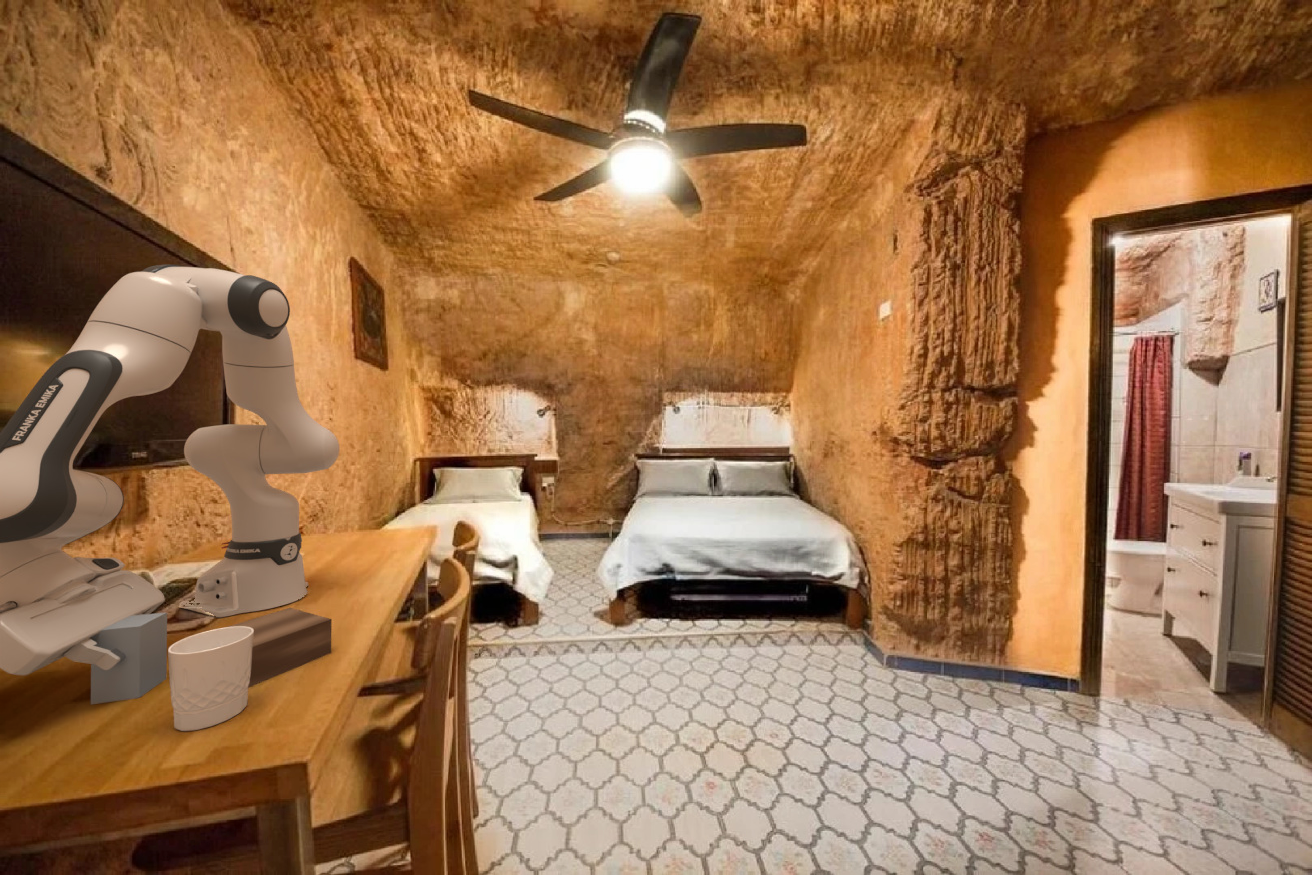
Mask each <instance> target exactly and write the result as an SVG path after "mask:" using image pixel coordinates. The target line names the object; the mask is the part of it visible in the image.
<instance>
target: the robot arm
mask: <svg viewBox="0 0 1312 875" xmlns="http://www.w3.org/2000/svg"><path fill="white" fill-rule="evenodd" d="M290 313H291V308H290V303H289V299H288V298H287V296H286V295H285V293H284V292H283V291H282V289H281V288H280V287H279V286H278V285H277V284H276V283H274V282H272V281H270V280H267V279H265V278H263V277H258V276H256V275H250V274H248V275H245V274H242V273H238V272H234V271H230V270H229V271H228V270H226V269H225V270H224V269H219V268H210V267H209V268H206V267H205V268H203V267H194V266H182V265H179V264H156V265H152V266H149V267H146V268H144V269H142V270H141V271H134V272H129V273H126V274H125V275H124V276H122V277H120V279H119V280H117V282H116V283H115V284H113V286H112V287H111V288H110V289H109V290H108V291H107V292H106V293H105V294H104V296H103V297H102V298H101V300H100V301H99V302H98V304H97V305H96V307H95V308H94V310H93V311H92V313H91V314H90V316H89V318H88V320H87V322H86V324H85V326H84V327H83V329H82V331H81V332H80V334H79V336H78V337H77V339H76V340H75V341H74V344H72V346H71V348H70V349H69V350H68V351H67V352H66V353H65V354H64V355H62V356H60V358H58V359H57V360H56V361H55V362H54V363H53V364H51V366H49V367H48V368H47V370H46V371H45V372H44V373H43V374H42V376H41V377H40V378H39V380H38V381H37V382H36V384H34V386H33V387H32V389H31V390H30V392H29V393H27V396H25V398H24V400H23V401H22V402H21V404H20V405H19V406H18V408H17V409H16V410H15V412H14V414H12V416H11V417H10V419H9V420H8V422H7V423H6V424H5V426H4V427H3V428H2V430H1V431H0V669H1V670H2V671H4V672H5V673H6V674H10V675H13V676H14V675H16V676H28V675H30V674H32V673H34V672H36V671H38V670H41V669H42V668H44V667H46V666H49V665H50V664H53V663H54V662H56V661H58V660H60V659H62V658H67V659H69V660H71V661H72V662H78V663H83V664H90V665H91V664H95V665H97V666H99V667H100V668H102V669H103V670H109V669H111V668H113V667H114V666H116V665H118V664H119V663H120V662H121V661H122V660H124V659H125V658H126V654H124V653H121V651H120V650H118V649H114V650H112V651H111V650H107V649H104V648H100V647H97V646H95V645H96V644H97V643H96V642H95V641H93V640H92V639H91V637H93V636H95V635H97V634H98V633H100V631H101V630H102V629H104V628H106V627H108V626H110V625H112V624H114V623H117V622H119V621H121V620H123V619H125V618H127V617H129V616H134V615H145V614H152V612H154V611H155V610H156V609H158V608H159V607H160V606H161V605H162V604H164V603H165V601H166V600H165V595H164V593H163V592H162V591H161V590H160V589H159V588H157V586H155V585H153V584H152V583H151V582H149V581H148V580H147V579H145V578H144V577H142V576H140V575H139V574H137V573H135V572H133V571H130V570H124V569H123V568H124V567H125V566H126V564H125V563H124V562H123V561H122V560H120V559H118V558H116V557H82V556H75V557H73V556H71V555H69V553H66V552H65V551H63V549H62V548H63V547H65V545H68V544H71V543H73V542H76V541H78V540H80V539H81V538H84V537H86V536H88V535H91V534H93V533H95V532H96V531H98V530H99V529H100V530H101V528H104V527H105V526H107V525H108V524H110V523H112V521H114V520H115V519H116V518H117V517H118V515H119V514H120V512H122V509H123V508H124V507H123V506H124V503H125V496H124V492H123V491H122V488H121V487H120V485H119V484H117V482H115V481H114V480H113V479H111V478H110V477H107V476H105V475H102V474H97V473H94V472H88V471H83V470H79V469H74V468H73V467H74V466H73V463H74V460H75V458H76V456H77V455H78V453H79V452H80V450H81V448H82V447H83V445H84V444H85V442H86V440H87V439H88V437H89V436H90V434H91V432H92V430H93V429H94V427H95V426H96V424H97V423H98V421H99V419H100V418H101V416H102V415H103V414H104V412H105V411H106V410H107V409H108V408H109V407H110V406H112V405H114V404H115V403H117V402H118V401H121V400H123V399H126V398H131V397H137V396H146V395H147V396H148V395H152V394H156V393H158V392H162V391H164V390H166V389H168V388H170V387H172V385H173V384H174V383H175V381H176V380H177V379H178V378H179V377H180V375H181V374H182V373H183V371H184V369H185V367H186V365H187V363H188V361H189V359H190V357H191V354H192V351H193V350H194V347H195V344H196V341H197V337H198V335H199V331H200V330H201V329H202V330H206V331H213V332H219V333H220V334H221V336H222V344H221V345H222V346H221V348H222V351H221V352H222V365H223V372H224V380H225V382H224V384H225V389H226V396H227V398H229V400H230V401H231V402H232V403H233V404H234V405H235V406H237V407H239V408H241V409H243V410H246V411H248V412H251V413H254V414H255V415H257V416H259V418H261V419H262V420H263V421H264V422H265V424H232V423H231V424H230V423H229V424H221V425H220V424H219V425H212V426H204V427H199V428H197V429H196V430H194V431H193V432H192V433H191V434H190V435H189V436H188V438H187V439H186V441H185V442H184V446H183V447H184V448H183V454H184V458H185V461H187V463H188V465H189V466H190V467H191V468H192V469H193V470H195V471H196V472H198V473H200V474H202V475H204V476H206V477H207V478H208V479H210V480H212V481H213V483H215V484H216V485H217V486H218V487H219V488H220V489H221V490H222V492H223V493H224V495H225V497H226V499H227V501H228V504H229V507H230V515H231V516H230V517H231V540H230V541H227V542H222V543H221V545H223V546H222V547H221V549H226V550H225V553H224V555H223V559H221V560H220V561H218V562H217V563H215V565H213V566H212V567H210V568H209V569H208V570H206V571H205V572H203V573H202V574H201V575H200V576H199V577H198V578H197V581H196V584H195V585H196V586H195V592H194V593H195V595H194V596H195V599H194V601H195V602H194V601H191V602H189V601H184V600H182V601H181V602H179V604H181V605H185V606H191V607H202V608H200V609H202V610H204V611H205V612H209V613H211V614H213V615H214V616H216V617H215V618H223V617H229V616H234V615H237V614H242V613H243V614H245V613H250V612H258V611H264V610H269V609H273V608H277V607H280V606H284V605H288V604H292V603H293V602H297V601H298V599H299V600H301V599H303V598H304V597H305V596H304V595H306V594H307V595H308V593H307V592H308V588H307V589H306V587H307V586H308V587H309V582H308V581H306V578H305V577H306V576H305V569H304V561H303V554H301V553H300V550H301V549H302V542H303V538H302V533H301V532H300V502H299V500H298V499H297V498H296V497H295V496H294V495H293V494H291V493H289V492H287V491H285V490H282V489H279V488H275V487H273V486H272V485H271V484H270V483H269V482H268V480H267V478H266V475H280V474H281V475H283V474H284V475H285V474H286V475H287V474H289V475H290V474H291V475H292V474H309V473H313V472H318V471H319V472H320V471H325V470H328V469H330V468H331V467H332V466H333V465H334V464H335V462H336V461H337V459H338V457H339V454H340V444H339V441H338V440H339V439H337V437H336V435H335V434H334V433H333V432H332V430H329V429H328V428H326V427H324V426H323V425H321V424H319V423H318V421H316V420H315V419H313V417H312V416H311V415H310V414H308V412H307V410H306V409H305V408H304V406H303V405H302V402H301V401H300V397H299V393H298V388H297V383H296V374H295V360H294V353H293V352H294V351H293V347H292V342H291V338H290V334H289V331H288V327H287V323H288V322H289V318H290ZM307 595H306V596H307ZM302 597H303V598H302ZM186 603H187V604H186ZM189 603H200V604H199V605H198V606H197V605H195V606H194V605H193V604H192V605H191V604H189ZM179 604H178V605H179ZM214 616H213V617H214Z"/></svg>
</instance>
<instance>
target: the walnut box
mask: <svg viewBox="0 0 1312 875" xmlns="http://www.w3.org/2000/svg"><path fill="white" fill-rule="evenodd" d="M234 626H247V627H251V628H253V629H254V635H253V649H252V664H251V675H250V683H249V686H248V689H249V688H251V687H253V686H256V685H258V684H260V683H263V682H265V681H268V680H270V679H272V678H275V677H277V676H280V675H281V674H285V673H287V672H290V671H291V670H294V669H296V668H298V667H300V666H303V665H306V664H308V663H311V662H313V661H316V660H318V659H320V658H323V657H325V656H328V655H329V654H332V618H329V617H325V616H322V615H318V614H314V613H310V612H307V611H304V610H300V609H296V608H293V607H287V608H285V609H281V610H279V611H274V612H270V613H268V614H265V615H261V616H257V617H256V618H252V619H248V620H246V621H242V622H239V623H236V624H232V625H229V626H227V627H234Z"/></svg>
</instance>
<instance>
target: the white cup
mask: <svg viewBox="0 0 1312 875" xmlns="http://www.w3.org/2000/svg"><path fill="white" fill-rule="evenodd" d="M253 635H254V629H253V628H251V627H247V626H234V627H228V626H226V627H220V628H214V629H210V630H207V631H202V632H199V633H195V634H193V635H189V636H186V637H184V638H182V639H179V640H178V641H176V642H174V643H173V644H171V645H170V646H168V647H167V657H168V658H167V659H168V672H169V673H168V674H169V675H168V676H169V677H168V678H169V688H170V699H171V706H172V708H173V710H172V711H173V726H174V729H175V730H178V731H180V732H189V731H199V730H201V729H206V728H210V727H214V726H215V725H219V724H221V723H224V722H226V721H228V720H230V719H233V717H235V716H237V715H238V714H240V713H241V712H242V711H243V710H244V709H245V708H246V707H247V706H248V696H249V688H248V686H249V683H250V675H251V664H252V649H253Z"/></svg>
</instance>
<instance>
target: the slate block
mask: <svg viewBox="0 0 1312 875" xmlns="http://www.w3.org/2000/svg"><path fill="white" fill-rule="evenodd" d="M91 639H92V640H93V641H95V642H96V643H97V644H96V645H95V646H97V647H100V648H104V649H107V650H111V651H112V650H114V649H118V650H120V651H121V653H124V654H126V658H125V659H124V660H122V661H121V662H120V663H119V664H118V665H116V666H114V667H113V668H111V669H109V670H103V669H102V668H100V667H99V666H97V665H95V664H90V705H97V704H103V703H111V702H119V701H125V700H126V701H127V700H133V699H139V698H141V697H143V696H144V695H145V694H147V693H149V692H150V691H151V690H152V689H155V687H157V686H159V685H160V684H161V683H162V682H164V681H165V680H167V659H168V658H167V657H168V646H167V641H168V612H158V613H157V612H156V613H150V614H145V615H134V616H129V617H127V618H125V619H123V620H121V621H119V622H117V623H114V624H112V625H110V626H108V627H106V628H104V629H102V630H101V631H100V633H98V634H97V635H95V636H93V637H91Z"/></svg>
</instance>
